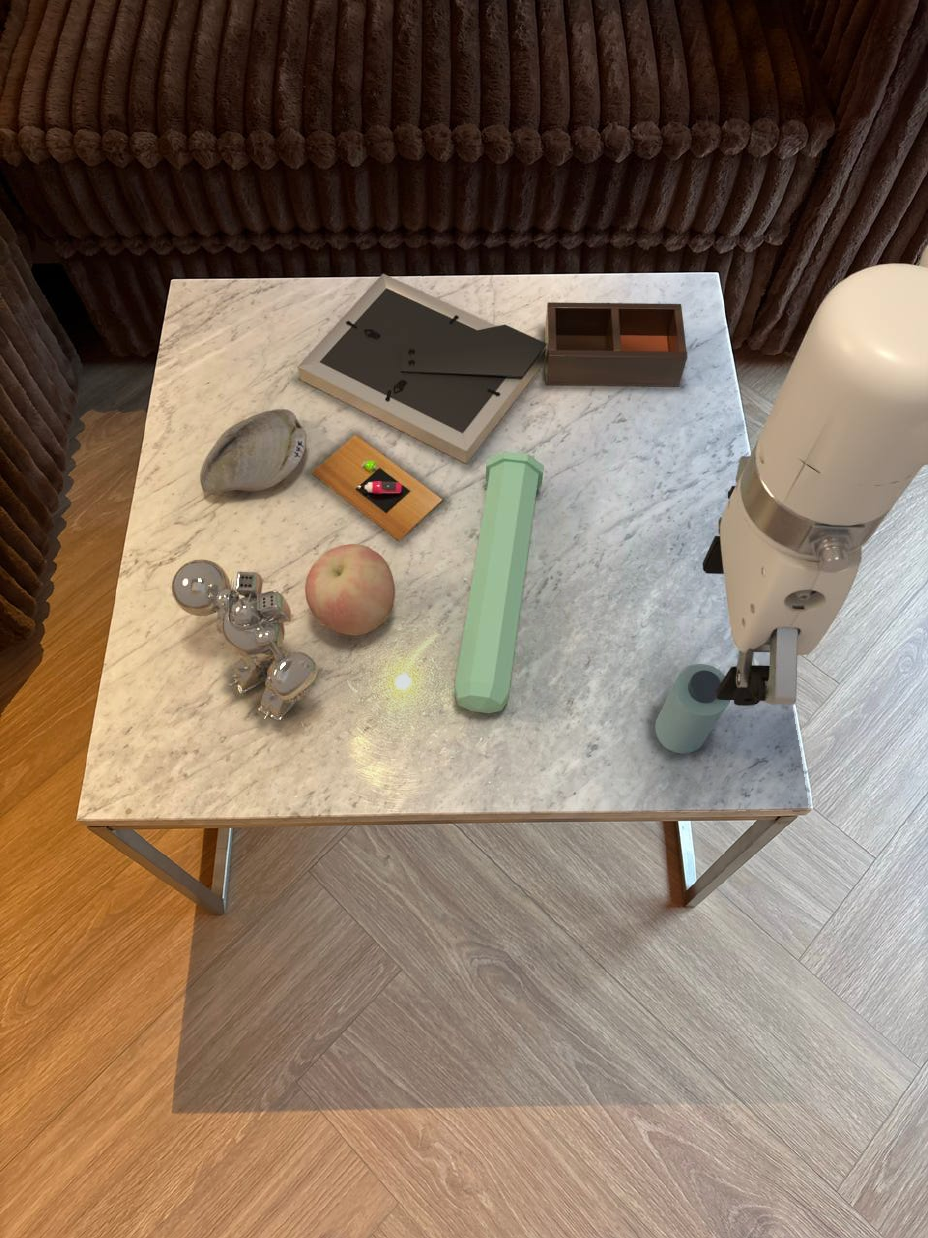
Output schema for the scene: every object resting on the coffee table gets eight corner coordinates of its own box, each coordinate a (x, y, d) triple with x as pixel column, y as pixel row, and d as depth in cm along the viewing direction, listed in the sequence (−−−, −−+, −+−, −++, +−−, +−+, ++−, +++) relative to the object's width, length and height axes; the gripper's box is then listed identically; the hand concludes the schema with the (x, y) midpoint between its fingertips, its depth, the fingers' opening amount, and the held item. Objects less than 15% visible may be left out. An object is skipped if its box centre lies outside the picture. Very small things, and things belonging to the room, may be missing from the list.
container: (498, 695, 77) (533, 447, 88) (433, 697, 79) (475, 454, 90) (523, 722, 82) (553, 483, 92) (460, 723, 84) (497, 490, 95)
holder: (544, 332, 103) (547, 301, 99) (673, 333, 103) (681, 303, 99) (545, 385, 100) (548, 355, 96) (678, 386, 99) (687, 357, 95)
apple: (363, 560, 90) (354, 513, 83) (415, 613, 87) (411, 569, 80) (297, 610, 87) (281, 566, 80) (349, 666, 85) (338, 626, 78)
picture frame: (544, 362, 101) (384, 287, 106) (546, 343, 98) (382, 267, 104) (466, 464, 95) (300, 379, 100) (466, 446, 92) (296, 361, 98)
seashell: (238, 529, 92) (226, 499, 87) (186, 479, 94) (172, 448, 90) (330, 457, 95) (323, 426, 91) (277, 412, 98) (268, 379, 94)
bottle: (703, 706, 83) (731, 658, 74) (708, 754, 81) (737, 711, 72) (653, 705, 83) (675, 657, 74) (656, 753, 81) (679, 710, 72)
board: (356, 435, 97) (354, 426, 95) (442, 500, 93) (442, 491, 92) (311, 473, 94) (309, 464, 93) (398, 541, 91) (397, 532, 89)
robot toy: (183, 641, 86) (130, 556, 73) (235, 597, 88) (193, 507, 75) (291, 747, 81) (256, 677, 68) (343, 699, 83) (319, 621, 70)
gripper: (920, 635, 46) (803, 752, 61) (860, 362, 54) (770, 526, 69) (765, 631, 46) (687, 749, 61) (727, 358, 54) (667, 523, 69)
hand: (731, 630), depth 65 cm, fingers open, 9 cm apart
